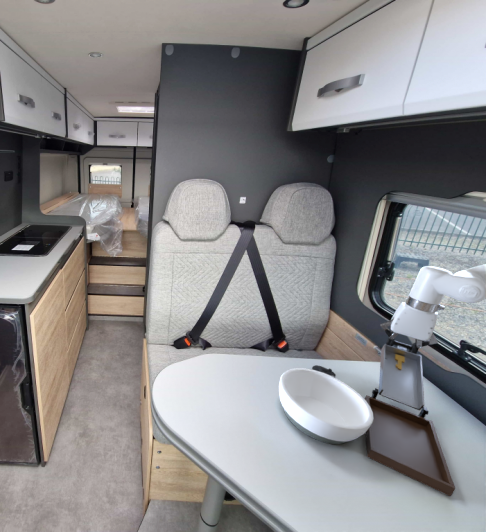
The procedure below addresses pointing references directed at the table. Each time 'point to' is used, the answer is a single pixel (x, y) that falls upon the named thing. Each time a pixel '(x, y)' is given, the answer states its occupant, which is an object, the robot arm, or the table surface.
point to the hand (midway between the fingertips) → (399, 351)
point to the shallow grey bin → (401, 376)
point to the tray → (407, 445)
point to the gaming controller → (324, 370)
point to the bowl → (323, 406)
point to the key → (399, 361)
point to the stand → (422, 413)
